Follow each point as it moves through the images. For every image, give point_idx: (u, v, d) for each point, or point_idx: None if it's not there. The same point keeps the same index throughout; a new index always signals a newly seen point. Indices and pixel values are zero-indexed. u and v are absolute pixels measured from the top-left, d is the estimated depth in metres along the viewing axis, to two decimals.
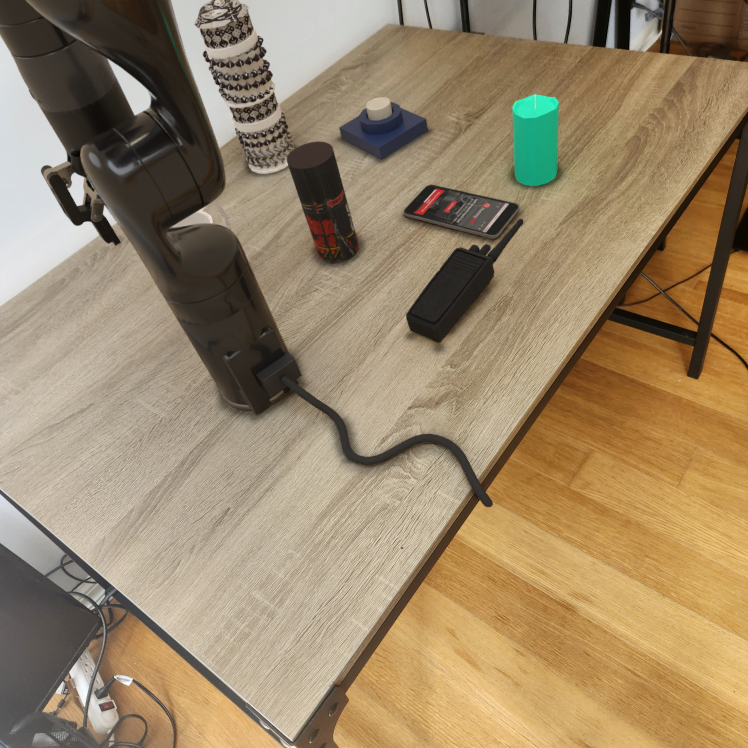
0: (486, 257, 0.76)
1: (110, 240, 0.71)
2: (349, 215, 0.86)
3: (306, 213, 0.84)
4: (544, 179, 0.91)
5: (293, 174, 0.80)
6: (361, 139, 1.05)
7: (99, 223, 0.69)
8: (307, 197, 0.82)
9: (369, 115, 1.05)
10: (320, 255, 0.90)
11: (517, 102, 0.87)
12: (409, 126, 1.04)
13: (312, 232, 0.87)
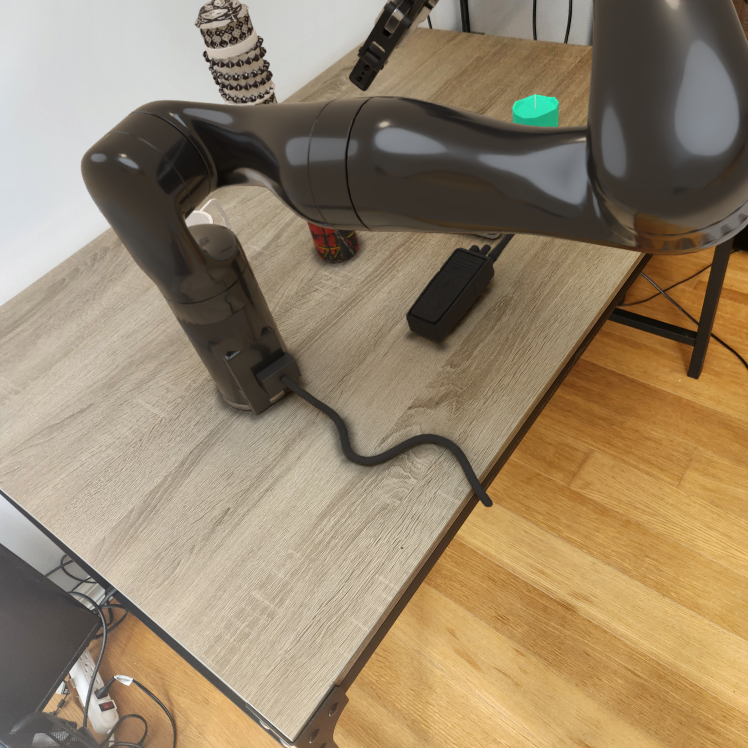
0: (486, 257, 0.76)
1: (364, 85, 0.64)
2: None
3: None
4: None
5: None
6: None
7: None
8: None
9: None
10: (320, 255, 0.90)
11: (517, 102, 0.87)
12: None
13: (312, 232, 0.87)
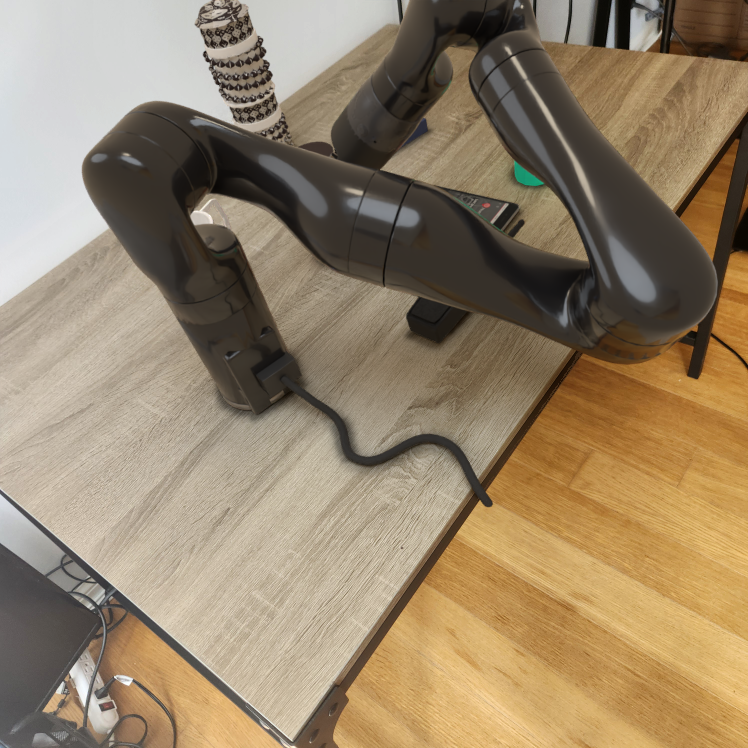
0: None
1: None
2: None
3: None
4: None
5: None
6: None
7: None
8: None
9: None
10: None
11: None
12: None
13: None
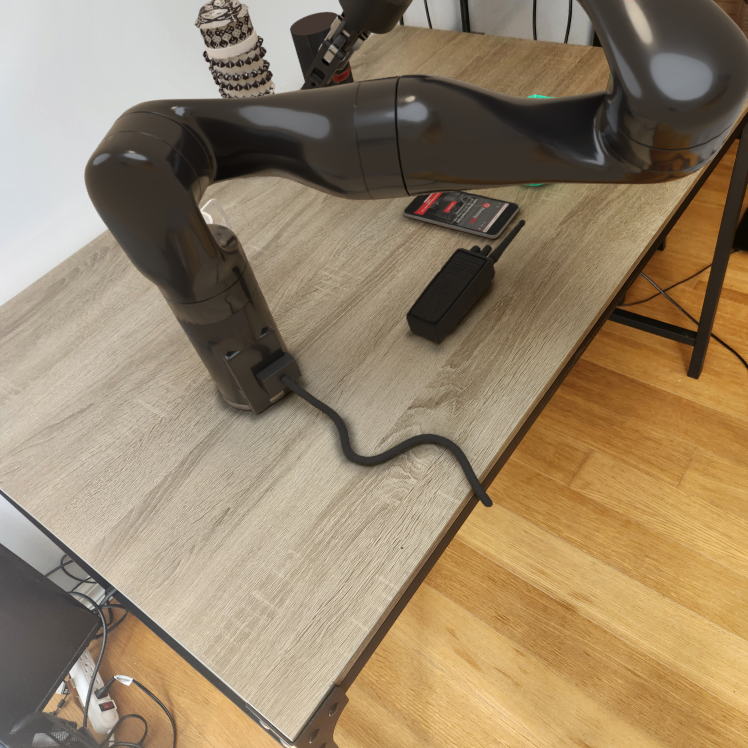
0: (487, 258, 0.76)
1: None
2: None
3: None
4: None
5: (297, 44, 0.75)
6: None
7: None
8: None
9: None
10: None
11: None
12: None
13: None
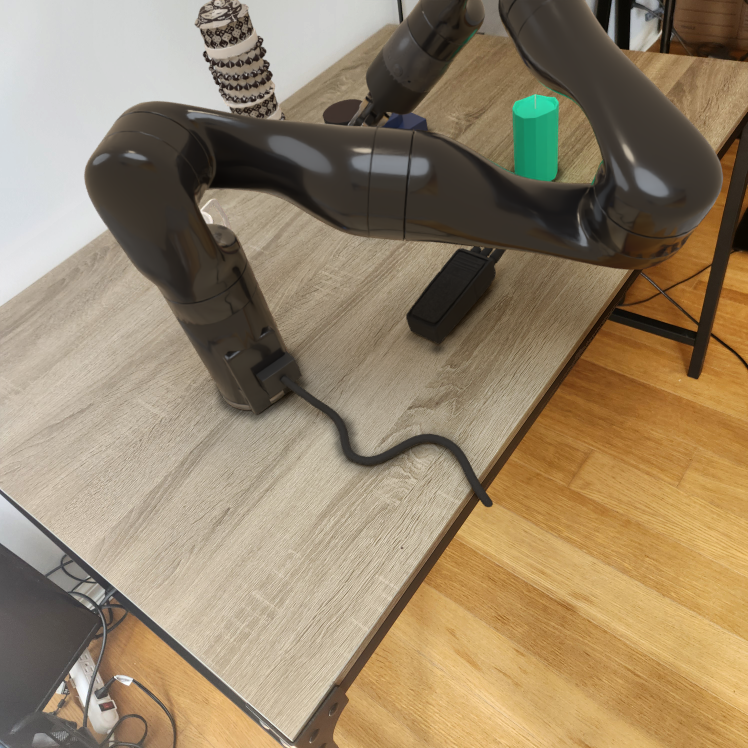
0: (487, 258, 0.76)
1: None
2: None
3: None
4: (544, 179, 0.91)
5: None
6: None
7: None
8: None
9: None
10: None
11: (517, 102, 0.87)
12: (409, 126, 1.04)
13: None
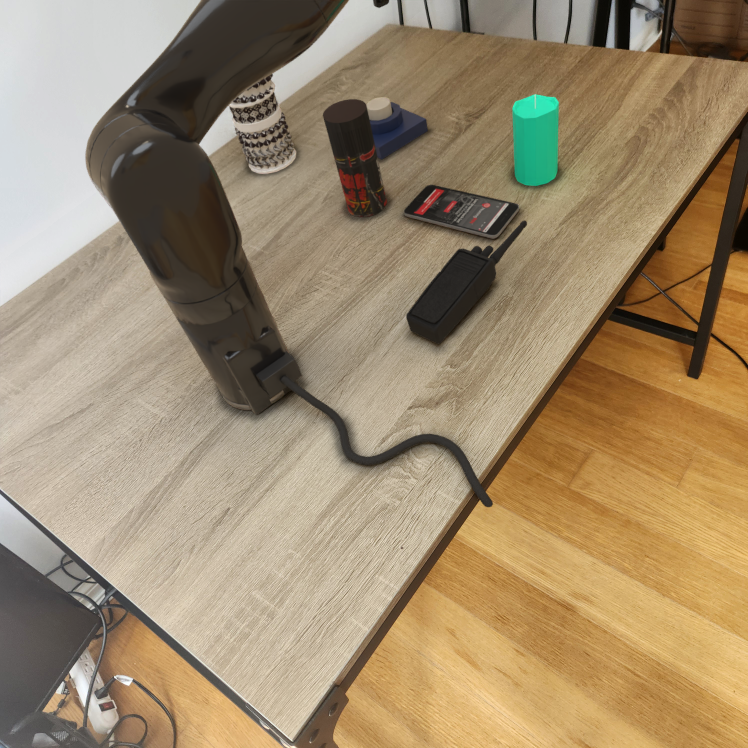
0: (488, 259, 0.76)
1: None
2: (379, 170, 0.92)
3: (339, 168, 0.90)
4: (544, 179, 0.91)
5: (329, 129, 0.85)
6: None
7: None
8: (341, 151, 0.87)
9: (369, 115, 1.05)
10: (350, 210, 0.95)
11: (517, 102, 0.87)
12: (409, 126, 1.04)
13: (344, 187, 0.92)
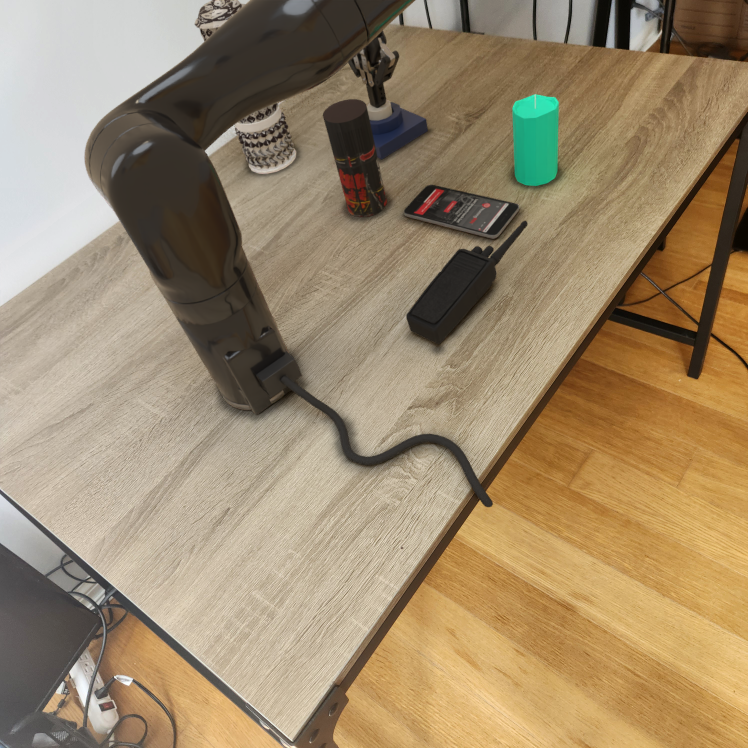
0: (488, 259, 0.76)
1: None
2: (379, 170, 0.92)
3: (339, 168, 0.90)
4: (544, 179, 0.91)
5: (329, 129, 0.85)
6: None
7: None
8: (341, 151, 0.87)
9: (369, 116, 1.05)
10: (350, 210, 0.95)
11: (517, 102, 0.87)
12: (409, 126, 1.04)
13: (344, 187, 0.92)
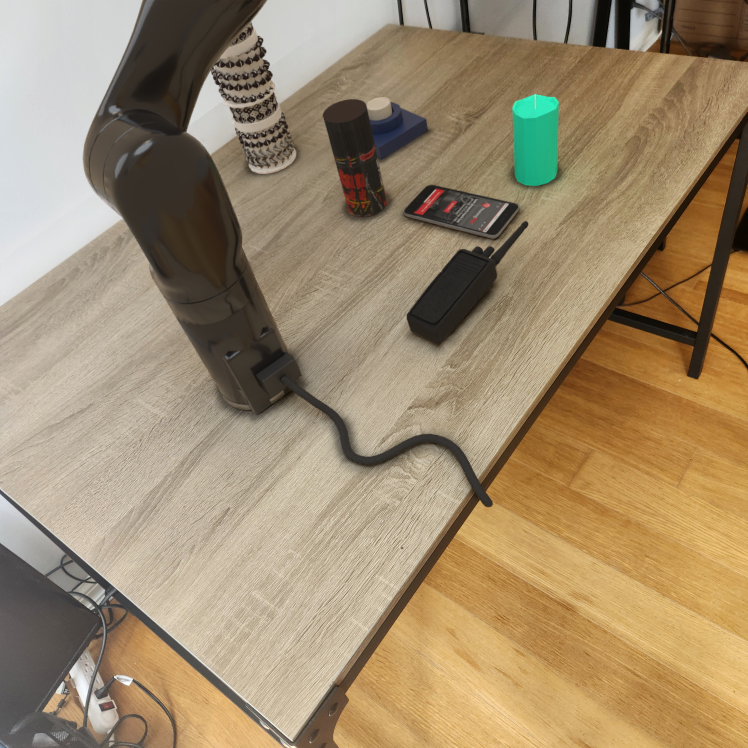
0: (489, 259, 0.76)
1: None
2: (379, 170, 0.92)
3: (339, 168, 0.90)
4: (544, 179, 0.91)
5: (329, 129, 0.85)
6: None
7: None
8: (341, 151, 0.87)
9: (369, 115, 1.05)
10: (350, 210, 0.95)
11: (517, 102, 0.87)
12: (409, 126, 1.04)
13: (344, 187, 0.92)
